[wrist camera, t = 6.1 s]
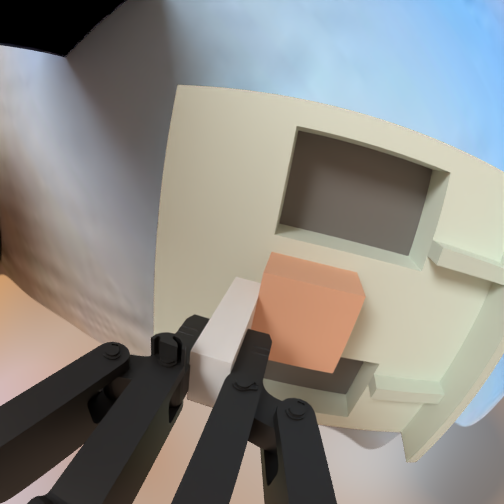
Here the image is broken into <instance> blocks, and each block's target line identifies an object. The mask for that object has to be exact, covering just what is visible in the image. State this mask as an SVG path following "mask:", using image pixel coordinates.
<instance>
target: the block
mask: <svg viewBox="0 0 504 504" xmlns="http://www.w3.org/2000/svg"><path fill="white" fill-rule="evenodd" d="M365 297H366V296H365V293H364V290H363V287H362V284H361V282H360V279H359V276H358V274H357V272H353V271H349V270H345V269H341V268H337V267H333V266H329V265H325V264H321V263H316V262H312V261H308V260H304V259H300V258H296V257H292V256H287V255H283V254H279V253H275V252H271V254H270V257H269V259H268V262H267V265H266V267H265V270H264V272H263V277H262V281H261V286H260V290H259V295H258V300H257V305H256V309H255V314H254V318H253V322H252V327H251V330H255V331H259V332H263V333H267V334H269V335H270V337H271V340H272V345H271V349H270V354H269V358H268V360H271V361H276V362H280V363H284V364H289V365H293V366H298V367H303V368H307V369H312V370H317V371H322V372H328V373H333V372H334V370H335V368H336V366H337V363H338V361H339V359H340V357H341V355H342V353H343V350H344V348H345V346H346V344H347V341H348V339H349V337H350V335H351V332H352V330H353V327H354V325H355V323H356V320H357V318H358V315H359V313H360V310H361V308H362V305H363V303H364V300H365Z"/></svg>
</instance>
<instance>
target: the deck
mask: <svg viewBox="0 0 504 504" xmlns="http://www.w3.org/2000/svg"><path fill="white" fill-rule="evenodd" d="M271 252H275V253H279V254H283V255H287V256H292V257H296V258H300V259H304V260H308V261H312V262H316V263H321V264H325V265H329V266H333V267H337V268H341V269H345V270H349V271H353V272H357V274H358V276H359V279H360V282H361V284H362V287H363V290H364V293H365V296H366V297H365V300H364V303H363V305H362V308H361V310H360V313H359V315H358V318H357V320H356V323H355V325H354V327H353V330H352V332H351V335H350V337H349V339H348V341H347V344H346V346H345V348H344V350H343V353H342V355H341V357H340V359H339V361H338V363H337V366H336V368H335V370H334V372H333V373H328V372H322V371H317V370H312V369H307V368H303V367H298V366H293V365H289V364H284V363H280V362H276V361H271V360H268V362H267V366H266V370H265V374H264V378H263V385H264V388H265V389H266V391H267V392H268V393H269V394H270V395H272V396H273V397H275V398H277V399H279V400H281V401H283V400H285V399H287V398H298V399H302V400H304V401H306V402H307V403H309V404H310V405H311V406H312V408H313V410H314V412H315V415H316V419H317V423H318V424H319V425H326V426H333V427H341V428H349V429H359V430H370V431H385V432H401V434H402V440H403V445H404V451H405V457H406V462H417V461H418V460H419V459H420V458H421V457H422V456H423V455H424V454H425V453H426V452H427V451H428V450H429V449H430V448H431V447H432V446H433V445H434V444H435V443H436V441H437V440H438V439H439V438H440V437H441V436H442V435H443V434H444V433H445V432H446V431H447V430H448V429H449V427H450V426H451V425H452V424H453V423H454V422H455V421H456V419H457V418H458V417H459V416H460V415H461V413H462V412H463V411H464V410H465V408H466V407H467V406H468V405H469V403H470V402H471V401H472V399H473V398H474V397H475V395H476V394H477V393H478V391H479V390H480V389H481V387H482V386H483V384H484V383H485V381H486V380H487V379H488V377H489V376H490V374H491V373H492V371H493V370H494V368H495V366H496V365H497V363H498V362H499V360H500V358H501V357H502V355H503V354H504V172H503V171H501V170H499V169H497V168H496V167H494V166H492V165H490V164H488V163H486V162H484V161H482V160H480V159H478V158H476V157H474V156H472V155H470V154H468V153H466V152H464V151H462V150H460V149H457V148H455V147H453V146H451V145H448V144H446V143H444V142H441V141H439V140H437V139H434V138H432V137H429V136H427V135H424V134H421V133H419V132H416V131H414V130H411V129H408V128H405V127H402V126H400V125H397V124H394V123H391V122H388V121H385V120H382V119H378V118H375V117H372V116H368V115H365V114H362V113H358V112H354V111H351V110H347V109H343V108H339V107H335V106H331V105H327V104H323V103H318V102H314V101H309V100H304V99H299V98H294V97H288V96H283V95H277V94H270V93H264V92H257V91H249V90H241V89H232V88H221V87H209V86H192V85H177V90H176V95H175V100H174V106H173V111H172V117H171V122H170V128H169V134H168V141H167V147H166V154H165V161H164V169H163V177H162V185H161V194H160V204H159V215H158V226H157V240H156V255H155V276H154V335H155V334H158V333H163V332H169V333H174V334H175V333H176V332H177V331H178V329H179V328H180V327H181V326H182V324H183V323H184V321H185V320H186V319H187V318H189V317H190V316H192V315H194V314H196V315H199V316H202V317H206V318H209V319H210V318H211V317H212V315H213V313H214V312H215V310H216V309H217V307H218V305H219V304H220V302H221V300H222V299H223V297H224V296H225V294H226V292H227V291H228V289H229V287H230V286H231V284H232V283H233V281H234V279H235V278H236V277H239V278H243V279H247V280H250V281H254V282H258V283H261V281H262V277H263V272H264V270H265V267H266V265H267V262H268V259H269V257H270V254H271Z"/></svg>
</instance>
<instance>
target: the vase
mask: <svg viewBox="0 0 504 504" xmlns="http://www.w3.org/2000/svg"><path fill="white" fill-rule="evenodd" d="M126 1H127V0H0V45H3V46H10V47H17V48H23V49H29V50H34V51H39V52H44V53H49V54H53V55H58V56H62V57H66V56H67V55H68V54H69V53H70V52H71V51H72V50H73V49H74V48H75V47H76V46H77V45H78V44H79V43H80V42H81V41H82V40H83V39H84V38H85V37H86V36H87V35H88V34H89V33H90V32H91V31H92V30H93V29H94V28H95V27H96V26H97V25H98V24H99V23H101V22H102V21H103V20H104V19H105V18H106V17H107V16H109V15H110V14H111V13H112V12H113V11H115V10H116V9H117V8H118V7H119V6H121V5H122V4H123V3H124V2H126Z"/></svg>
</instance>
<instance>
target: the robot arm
mask: <svg viewBox="0 0 504 504" xmlns="http://www.w3.org/2000/svg"><path fill="white" fill-rule="evenodd" d="M0 255H1V240H0ZM260 286H261V283H258V282H254V281H250V280H247V279H243V278H239V277H236V278H235V279H234V281H233V283H232V284H231V286H230V287H229V289H228V291H227V292H226V294H225V296H224V297H223V299H222V300H221V302H220V304H219V305H218V307H217V309H216V310H215V312H214V313H213V315H212V317H211V318H210V319H209V318H206V317H202V316H199V315H196V314H194V315H192V316H190V317H189V318H187V319H186V320H185V321H184V323H183V324H182V326H181V327H180V328H179V329H178V331H177V332H176V333H175V334H174V333H169V332H163V333H158V334H155V335H154V336H153V337H151V356H148V357H146V356H136V355H130V353H129V350H128V349H127V348H126V346H125V345H122V344H120V343H116V342H108V343H105V344H102V345H100V346H98V347H97V348H95V349H94V350H92V351H90V352H89V353H87V354H85V355H84V356H82V357H80V358H79V359H78V360H75V361H74V362H72V363H71V364H69V365H67V366H66V367H64V368H62V369H61V370H59V371H58V372H56V373H54V374H52V375H51V376H49V377H48V378H46V379H44V380H43V381H41V382H39V383H38V384H36V385H34V386H33V387H31V388H30V389H28V390H26V391H25V392H23V393H21V394H20V395H18V396H16V397H15V398H13V399H11V400H10V401H8V402H6V403H5V404H3V405H2V406H0V503H3V502H5V501H7V500H8V499H10V498H12V497H13V496H15V495H16V494H18V493H19V492H21V491H22V490H23V489H25V488H26V487H27V486H29V485H30V484H31V483H33V482H34V481H36V480H37V479H38V478H40V477H41V476H43V475H44V474H45V473H47V472H48V471H49V470H51V469H52V468H53V467H55V466H56V465H57V464H58V463H60V462H61V461H62V460H64V459H65V458H66V457H68V456H69V455H70V454H72V453H73V452H74V451H75V450H77V449H78V448H79V447H80V446H82V445H83V444H84V445H83V446H82V447H81V449H80V450H79V451H78V453H77V454H76V456H75V457H74V458H73V460H72V461H71V462H70V464H69V465H68V467H67V468H66V469H65V471H64V472H63V474H62V475H61V476H60V478H59V479H58V480H57V482H56V483H55V485H54V486H53V487H52V489H51V490H50V491H49V492H48V493H47V494H46V495H44V496H37V497H35V498H33V499H31V500H30V501H29V502H28V503H27V504H132V503H133V501H134V499H135V497H136V496H137V494H138V492H139V490H140V488H141V486H142V484H143V482H144V481H145V479H146V477H147V475H148V473H149V471H150V469H151V467H152V465H153V463H154V462H155V460H156V458H157V456H158V454H159V452H160V450H161V448H162V446H163V444H164V443H165V441H166V439H167V437H168V435H169V433H170V431H171V429H172V427H173V425H174V423H175V422H176V420H177V417H178V416H179V414H180V412H181V410H182V407H183V399H184V397H185V395H186V394H187V399H188V400H191V401H194V402H197V403H200V404H203V405H206V406H209V407H212V408H213V409H212V411H211V414H210V416H209V419H208V421H207V423H206V425H205V428H204V430H203V432H202V435H201V437H200V440H199V442H198V444H197V446H196V449H195V451H194V453H193V456H192V458H191V460H190V462H189V465H188V467H187V469H186V471H185V474H184V476H183V478H182V481H181V483H180V485H179V487H178V490H177V492H176V494H175V496H174V498H173V501H172V503H171V504H229V502H230V499H231V495H232V493H233V489H234V486H235V483H236V479H237V476H238V473H239V469H240V466H241V462H242V459H243V456H244V452H245V449H246V445H247V441H249V442H251V443H253V444H255V445H256V446H258V447H260V450H261V463H262V476H263V489H264V501H265V504H337V502H336V498H335V493H334V489H333V485H332V481H331V476H330V472H329V468H328V464H327V460H326V456H325V452H324V448H323V443H322V439H321V435H320V431H319V428H318V423H317V419H316V415H315V412H314V410H313V408H312V406H311V405H310V404H309V403H307V402H306V401H304V400H302V399H298V398H287V399H285V400H283V401H281V400H279V399H277V398H275V397H273V396H272V395H270V394H269V393H268V392H267V391H266V389H265V388H264V385H263V378H264V374H265V370H266V366H267V362H268V358H269V354H270V349H271V345H272V340H271V337H270V335H269V334H267V333H263V332H259V331H255V330H251V327H252V322H253V318H254V314H255V309H256V305H257V300H258V295H259V290H260Z"/></svg>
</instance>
